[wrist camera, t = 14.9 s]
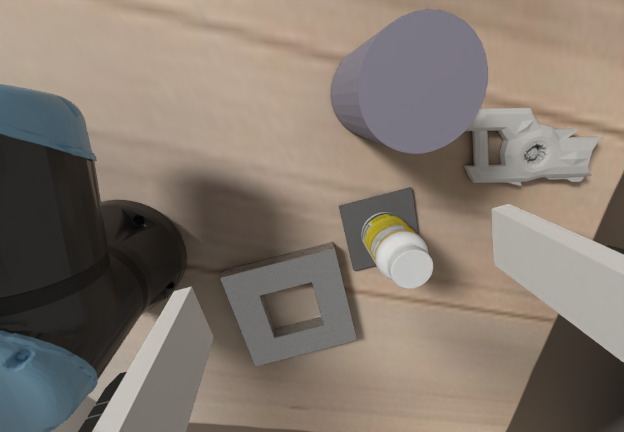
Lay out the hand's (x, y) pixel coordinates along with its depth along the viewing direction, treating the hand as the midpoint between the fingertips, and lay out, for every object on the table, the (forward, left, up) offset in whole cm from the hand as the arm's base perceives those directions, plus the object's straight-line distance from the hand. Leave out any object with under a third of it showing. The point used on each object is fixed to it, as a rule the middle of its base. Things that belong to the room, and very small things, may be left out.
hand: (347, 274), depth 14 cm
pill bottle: (+8, -12, -28) cm, 32 cm away
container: (+10, +6, -29) cm, 31 cm away
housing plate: (-7, -20, -29) cm, 36 cm away
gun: (+29, -6, -29) cm, 41 cm away
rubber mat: (+8, -12, -29) cm, 32 cm away
